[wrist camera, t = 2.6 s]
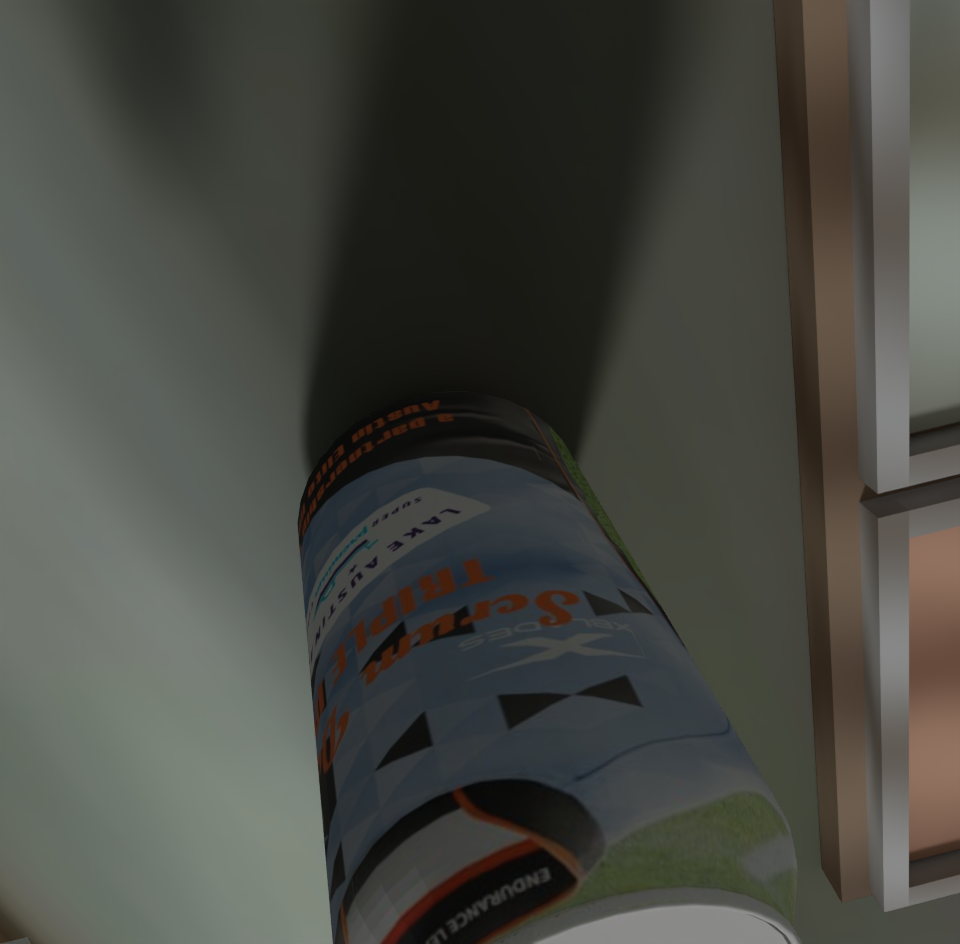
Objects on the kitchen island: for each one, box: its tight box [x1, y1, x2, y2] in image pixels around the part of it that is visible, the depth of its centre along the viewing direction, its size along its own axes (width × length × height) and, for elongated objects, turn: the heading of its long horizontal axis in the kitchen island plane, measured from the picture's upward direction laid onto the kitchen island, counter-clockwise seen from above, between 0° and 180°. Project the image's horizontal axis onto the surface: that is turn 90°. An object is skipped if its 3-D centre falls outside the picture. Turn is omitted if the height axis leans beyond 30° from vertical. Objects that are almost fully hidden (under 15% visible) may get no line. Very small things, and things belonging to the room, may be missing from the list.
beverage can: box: [298, 391, 802, 944], centre depth 15 cm, size 6×7×12 cm
